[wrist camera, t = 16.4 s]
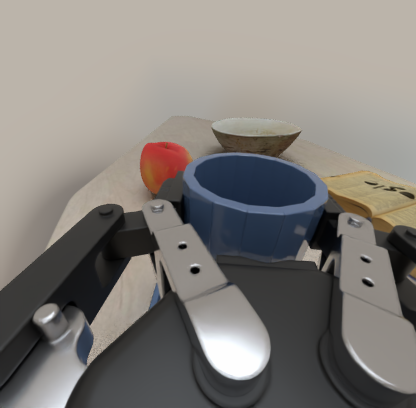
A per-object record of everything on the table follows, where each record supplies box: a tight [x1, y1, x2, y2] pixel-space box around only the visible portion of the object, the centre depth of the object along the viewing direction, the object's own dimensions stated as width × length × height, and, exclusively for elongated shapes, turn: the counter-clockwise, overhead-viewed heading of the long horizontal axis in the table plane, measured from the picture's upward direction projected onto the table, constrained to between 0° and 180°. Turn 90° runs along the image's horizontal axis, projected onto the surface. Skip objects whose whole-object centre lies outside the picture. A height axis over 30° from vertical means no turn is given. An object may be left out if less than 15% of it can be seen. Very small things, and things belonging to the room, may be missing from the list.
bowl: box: [212, 118, 301, 158], centre depth 58 cm, size 24×24×10 cm
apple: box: [140, 142, 193, 194], centre depth 38 cm, size 10×10×10 cm
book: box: [320, 170, 416, 284], centre depth 33 cm, size 25×17×6 cm, turn 24°
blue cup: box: [183, 152, 328, 263], centre depth 12 cm, size 6×6×8 cm
